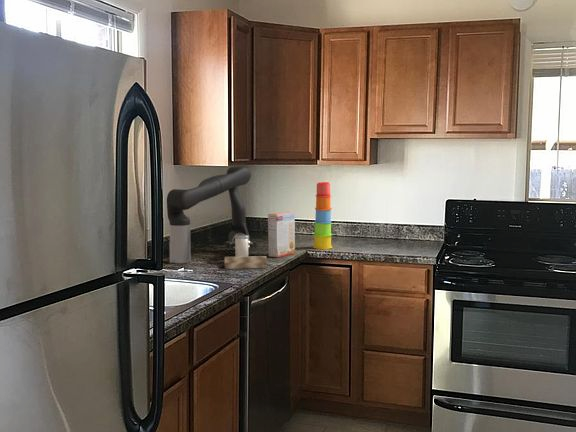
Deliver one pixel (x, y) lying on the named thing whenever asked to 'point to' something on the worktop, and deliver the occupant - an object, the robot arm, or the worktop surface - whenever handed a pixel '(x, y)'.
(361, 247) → the worktop surface
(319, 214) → the stacking cups
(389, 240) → the worktop surface
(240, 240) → the cylinder
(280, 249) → the cracker box
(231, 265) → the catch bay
